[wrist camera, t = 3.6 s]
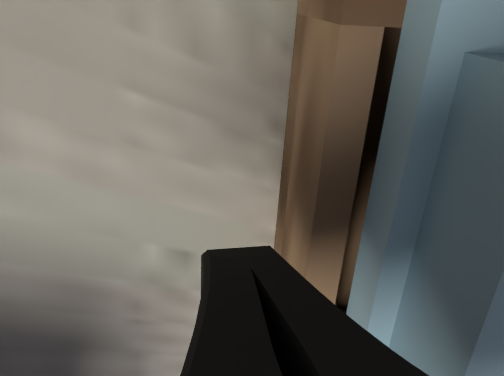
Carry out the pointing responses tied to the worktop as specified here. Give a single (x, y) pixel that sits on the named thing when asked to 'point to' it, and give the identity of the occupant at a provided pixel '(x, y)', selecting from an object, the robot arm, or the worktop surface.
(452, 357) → the lid
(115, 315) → the worktop surface
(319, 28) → the lid box
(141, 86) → the worktop surface
